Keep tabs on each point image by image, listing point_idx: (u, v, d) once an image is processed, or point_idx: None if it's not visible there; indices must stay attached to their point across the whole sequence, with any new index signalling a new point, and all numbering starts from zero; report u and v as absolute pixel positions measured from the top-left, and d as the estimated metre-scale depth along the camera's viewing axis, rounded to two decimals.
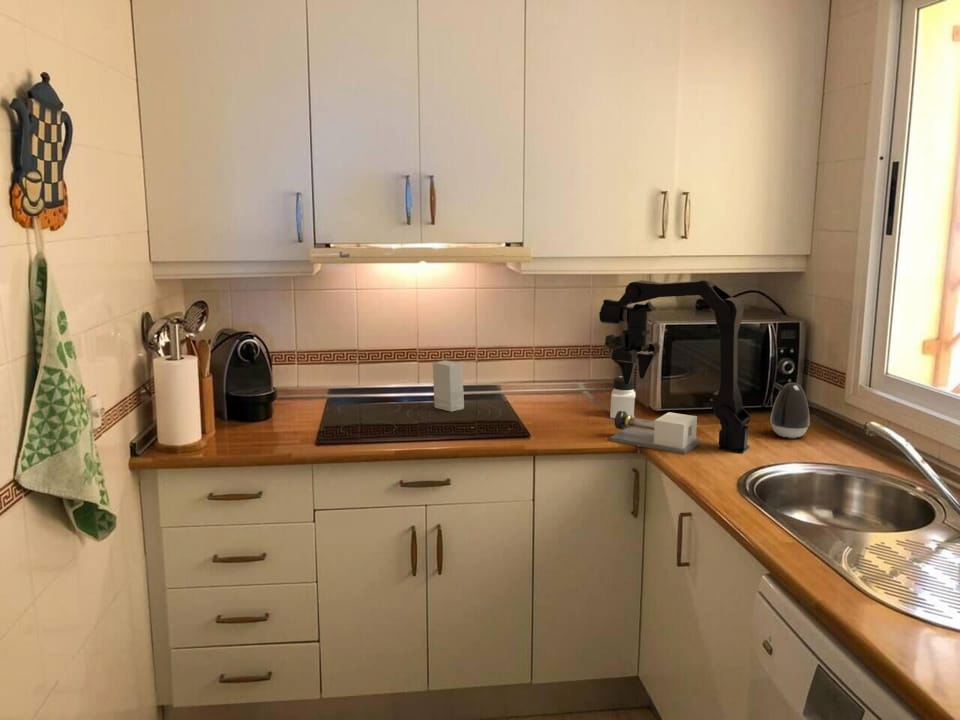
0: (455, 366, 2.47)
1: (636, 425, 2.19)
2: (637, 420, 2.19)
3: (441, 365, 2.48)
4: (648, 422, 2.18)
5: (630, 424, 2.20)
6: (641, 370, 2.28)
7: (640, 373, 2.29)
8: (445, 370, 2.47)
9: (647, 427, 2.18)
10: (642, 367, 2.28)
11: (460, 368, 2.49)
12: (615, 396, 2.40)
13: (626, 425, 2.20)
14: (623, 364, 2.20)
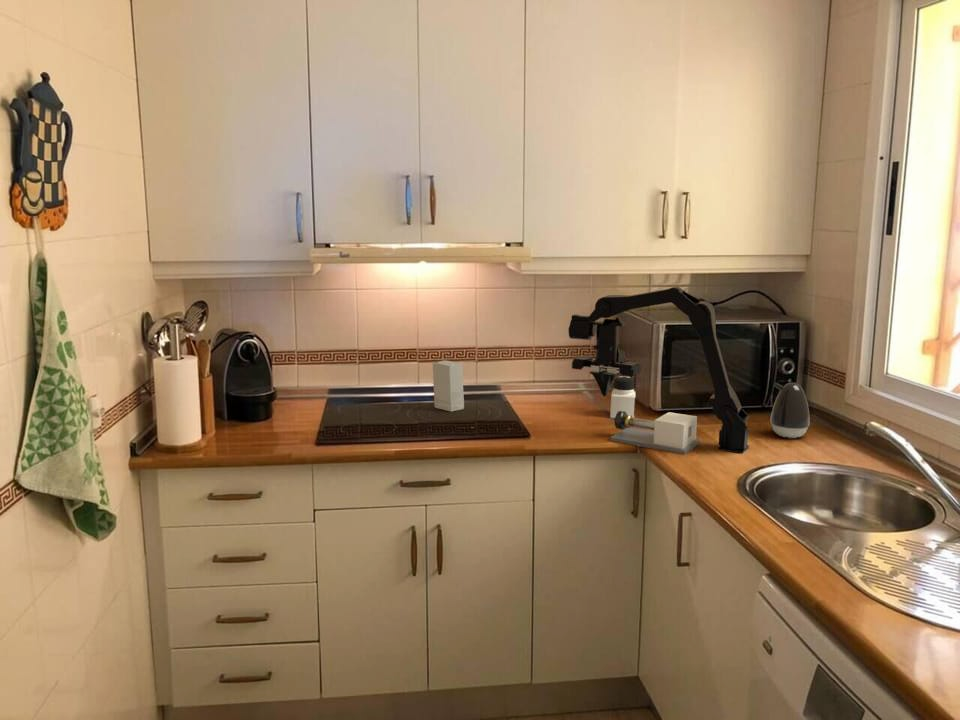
0: (455, 366, 2.47)
1: (636, 425, 2.19)
2: (637, 420, 2.19)
3: (441, 365, 2.48)
4: (648, 422, 2.18)
5: (630, 424, 2.20)
6: None
7: None
8: (445, 370, 2.47)
9: (647, 427, 2.18)
10: None
11: (460, 368, 2.49)
12: (615, 396, 2.40)
13: (626, 425, 2.20)
14: None
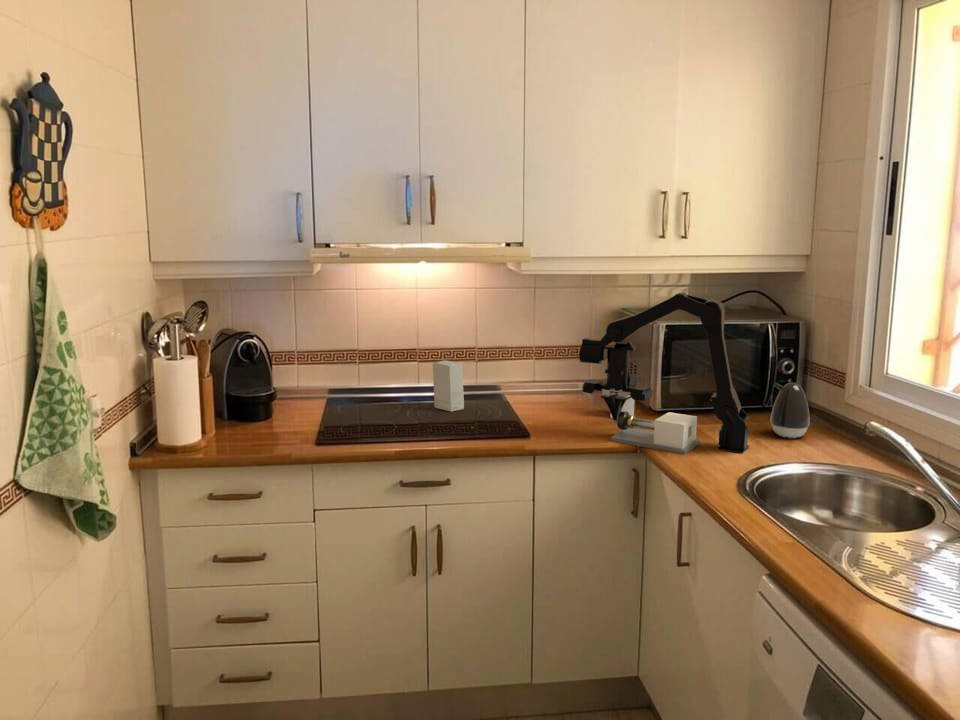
0: (455, 366, 2.47)
1: (639, 425, 2.19)
2: (640, 420, 2.19)
3: (441, 365, 2.48)
4: (651, 422, 2.17)
5: (633, 424, 2.20)
6: None
7: None
8: (445, 370, 2.47)
9: (650, 428, 2.17)
10: None
11: (460, 368, 2.49)
12: None
13: (629, 425, 2.20)
14: None
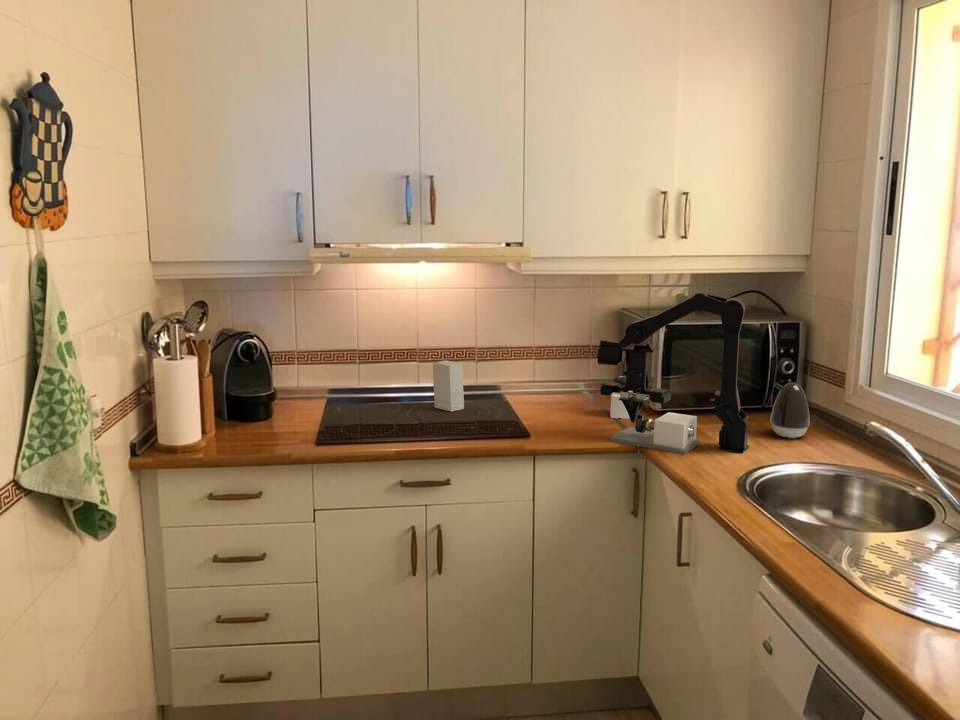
0: (455, 366, 2.47)
1: None
2: None
3: (441, 365, 2.48)
4: None
5: (651, 427, 2.17)
6: None
7: None
8: (445, 370, 2.47)
9: None
10: None
11: (460, 368, 2.49)
12: (615, 396, 2.40)
13: (647, 428, 2.17)
14: None
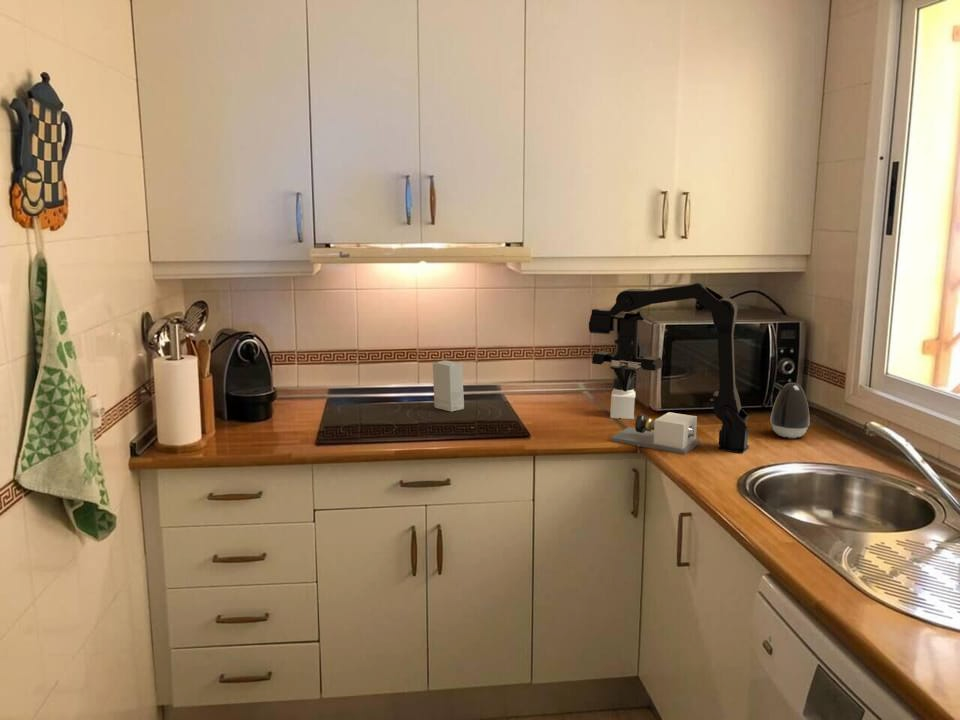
0: (455, 366, 2.47)
1: None
2: None
3: (441, 365, 2.48)
4: None
5: (651, 427, 2.17)
6: None
7: None
8: (445, 370, 2.47)
9: None
10: None
11: (460, 368, 2.49)
12: (615, 396, 2.40)
13: (647, 428, 2.17)
14: None
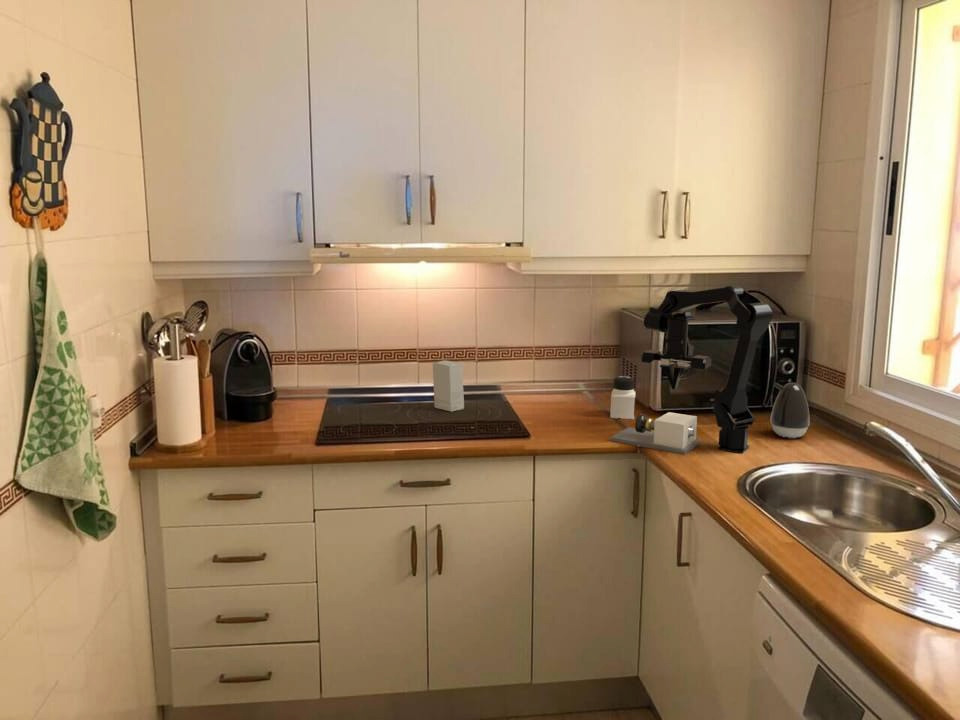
0: (455, 366, 2.47)
1: None
2: None
3: (441, 365, 2.48)
4: None
5: (651, 427, 2.17)
6: None
7: None
8: (445, 370, 2.47)
9: None
10: None
11: (460, 368, 2.49)
12: (615, 396, 2.40)
13: (647, 428, 2.17)
14: None
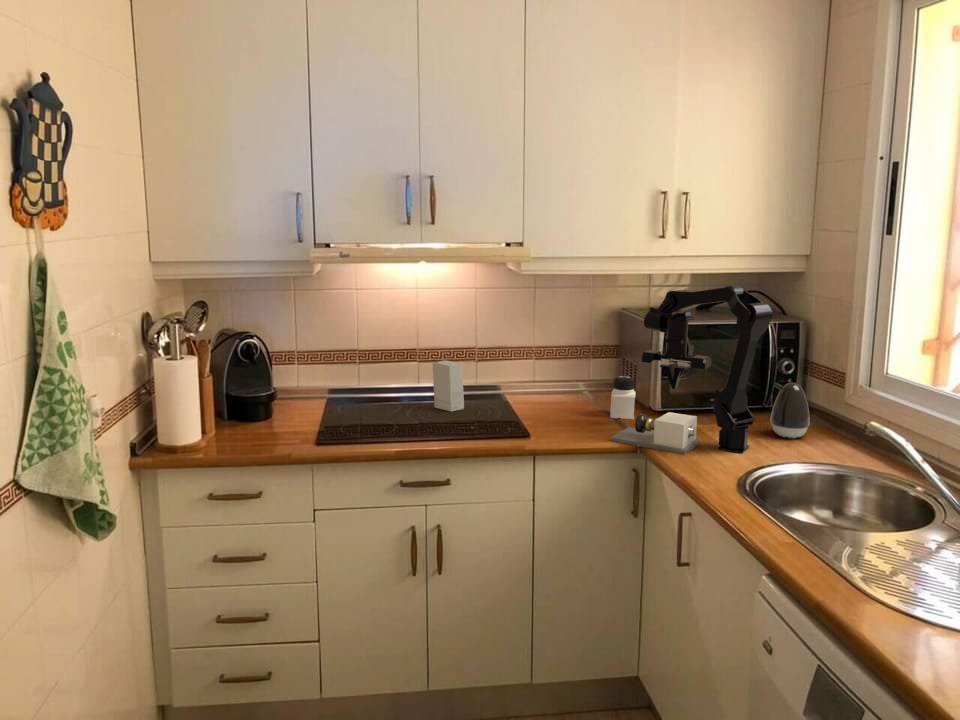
0: (455, 366, 2.47)
1: None
2: None
3: (441, 365, 2.48)
4: None
5: (651, 427, 2.17)
6: None
7: None
8: (445, 370, 2.47)
9: None
10: None
11: (460, 368, 2.49)
12: (615, 396, 2.40)
13: (647, 428, 2.17)
14: None
